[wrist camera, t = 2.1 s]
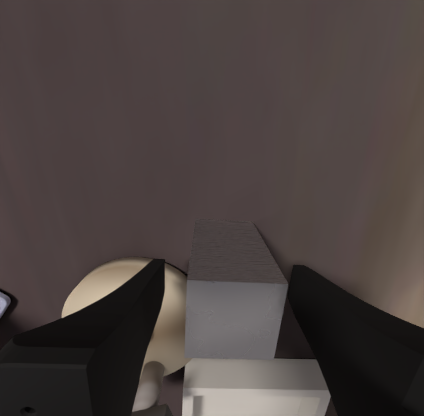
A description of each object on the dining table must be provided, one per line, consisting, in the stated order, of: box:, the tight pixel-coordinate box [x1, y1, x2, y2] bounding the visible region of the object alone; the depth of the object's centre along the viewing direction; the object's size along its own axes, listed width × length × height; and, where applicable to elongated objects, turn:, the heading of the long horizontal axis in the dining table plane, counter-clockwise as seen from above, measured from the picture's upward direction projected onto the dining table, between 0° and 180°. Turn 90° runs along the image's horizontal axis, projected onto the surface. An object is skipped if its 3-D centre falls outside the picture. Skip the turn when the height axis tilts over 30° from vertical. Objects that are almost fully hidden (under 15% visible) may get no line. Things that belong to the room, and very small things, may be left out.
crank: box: [62, 257, 192, 416], centre depth 14 cm, size 10×10×5 cm
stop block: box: [184, 219, 288, 360], centre depth 12 cm, size 4×4×7 cm
